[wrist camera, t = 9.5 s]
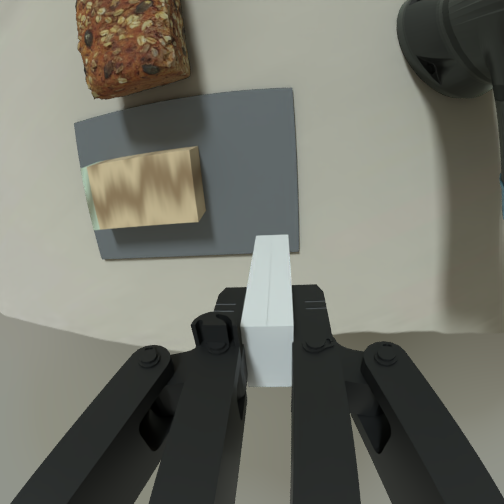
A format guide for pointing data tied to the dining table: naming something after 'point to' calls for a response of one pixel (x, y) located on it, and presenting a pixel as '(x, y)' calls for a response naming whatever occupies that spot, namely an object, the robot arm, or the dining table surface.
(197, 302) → the dining table surface
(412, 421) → the robot arm
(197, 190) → the slab
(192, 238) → the mat
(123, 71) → the bread
